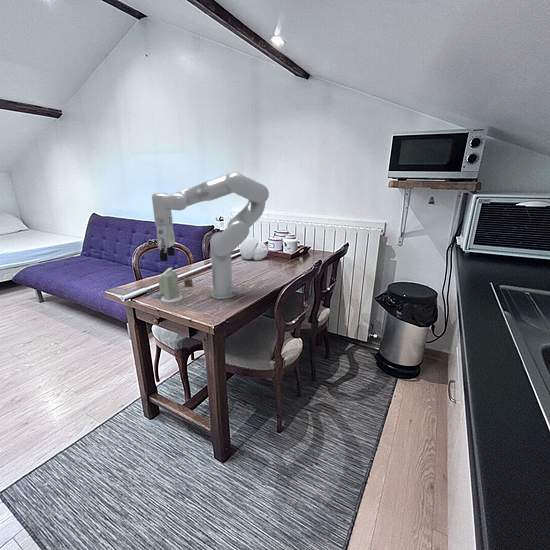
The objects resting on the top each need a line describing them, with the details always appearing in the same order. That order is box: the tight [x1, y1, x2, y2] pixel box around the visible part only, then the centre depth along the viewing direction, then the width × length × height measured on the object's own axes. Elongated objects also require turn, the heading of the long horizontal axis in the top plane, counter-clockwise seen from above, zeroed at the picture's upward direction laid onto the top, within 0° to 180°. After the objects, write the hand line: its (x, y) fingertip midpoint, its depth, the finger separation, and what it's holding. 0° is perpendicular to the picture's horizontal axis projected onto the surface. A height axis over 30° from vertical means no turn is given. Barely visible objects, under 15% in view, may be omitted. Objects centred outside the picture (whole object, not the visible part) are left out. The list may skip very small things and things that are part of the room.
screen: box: [156, 267, 174, 297], centre depth 156 cm, size 5×16×10 cm, turn 179°
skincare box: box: [160, 271, 181, 300], centre depth 145 cm, size 6×4×12 cm
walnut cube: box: [183, 277, 193, 288], centre depth 164 cm, size 4×4×4 cm
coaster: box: [160, 293, 184, 304], centre depth 147 cm, size 10×10×1 cm
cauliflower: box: [239, 236, 269, 261], centre depth 216 cm, size 20×18×16 cm
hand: (167, 258), depth 141 cm, fingers open, 9 cm apart
